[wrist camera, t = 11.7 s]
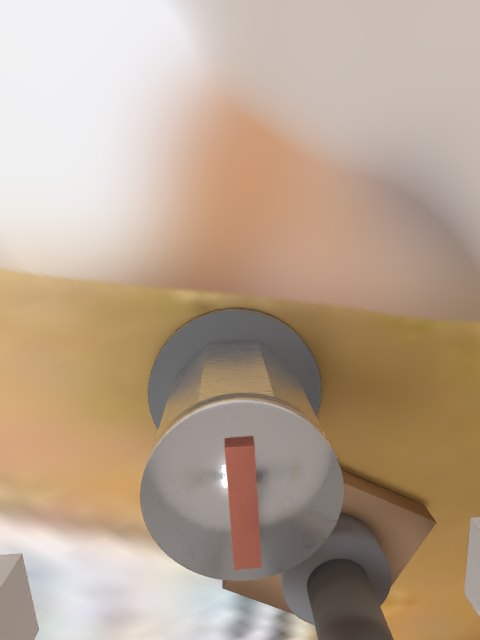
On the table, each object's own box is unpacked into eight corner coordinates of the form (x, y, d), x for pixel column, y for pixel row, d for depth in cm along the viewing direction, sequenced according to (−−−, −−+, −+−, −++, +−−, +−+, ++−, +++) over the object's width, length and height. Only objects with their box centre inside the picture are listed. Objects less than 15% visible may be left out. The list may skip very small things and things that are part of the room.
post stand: (348, 614, 27) (422, 844, 17) (222, 567, 26) (222, 788, 16) (424, 505, 26) (557, 691, 15) (292, 448, 24) (342, 612, 14)
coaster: (270, 486, 25) (271, 494, 24) (124, 426, 23) (120, 433, 22) (348, 352, 23) (352, 357, 22) (194, 278, 21) (193, 280, 21)
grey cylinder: (177, 458, 23) (149, 603, 14) (164, 340, 21) (122, 422, 12) (300, 449, 23) (348, 586, 14) (297, 331, 21) (350, 404, 13)
